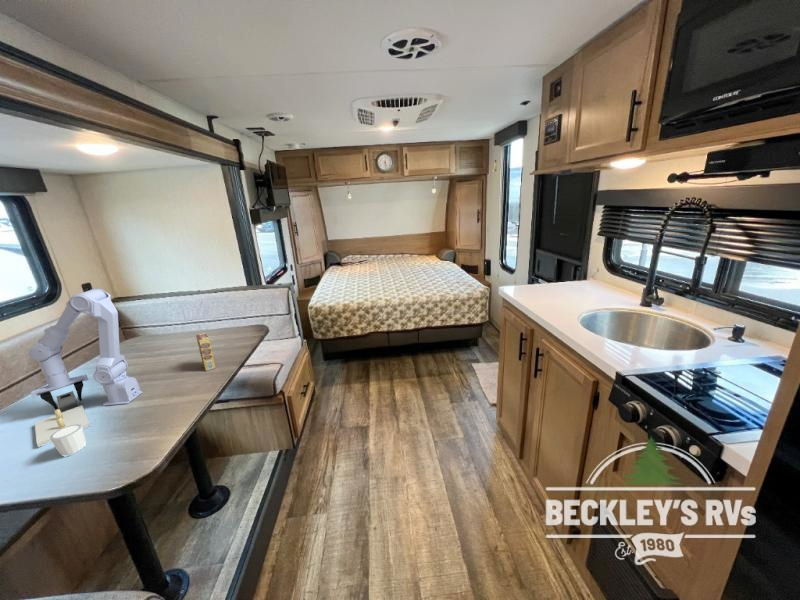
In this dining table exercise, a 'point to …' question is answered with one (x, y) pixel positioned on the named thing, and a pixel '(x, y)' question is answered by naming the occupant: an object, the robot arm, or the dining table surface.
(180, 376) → the dining table surface
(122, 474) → the dining table surface
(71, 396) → the grey hollow block
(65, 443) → the white faceted cup
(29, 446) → the dining table surface
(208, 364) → the candy box
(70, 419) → the housing base
